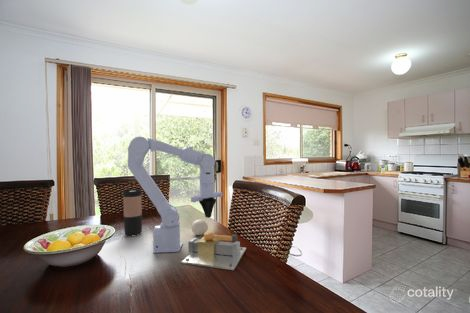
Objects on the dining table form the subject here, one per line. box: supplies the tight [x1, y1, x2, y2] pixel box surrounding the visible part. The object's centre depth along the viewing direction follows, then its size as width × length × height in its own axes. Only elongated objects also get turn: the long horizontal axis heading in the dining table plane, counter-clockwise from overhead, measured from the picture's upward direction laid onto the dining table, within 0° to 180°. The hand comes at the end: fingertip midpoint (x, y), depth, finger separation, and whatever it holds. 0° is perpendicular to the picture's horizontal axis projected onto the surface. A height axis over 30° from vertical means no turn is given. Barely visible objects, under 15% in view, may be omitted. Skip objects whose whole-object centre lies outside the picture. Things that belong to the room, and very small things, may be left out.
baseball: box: [191, 219, 209, 236], centre depth 102 cm, size 7×7×7 cm
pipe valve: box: [187, 236, 241, 257], centre depth 81 cm, size 18×6×5 cm, turn 74°
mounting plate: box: [180, 246, 247, 271], centre depth 80 cm, size 18×16×1 cm
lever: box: [203, 231, 239, 243], centre depth 81 cm, size 12×3×2 cm, turn 73°
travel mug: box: [122, 188, 143, 237], centre depth 105 cm, size 8×8×20 cm
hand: (208, 217), depth 92 cm, fingers closed
